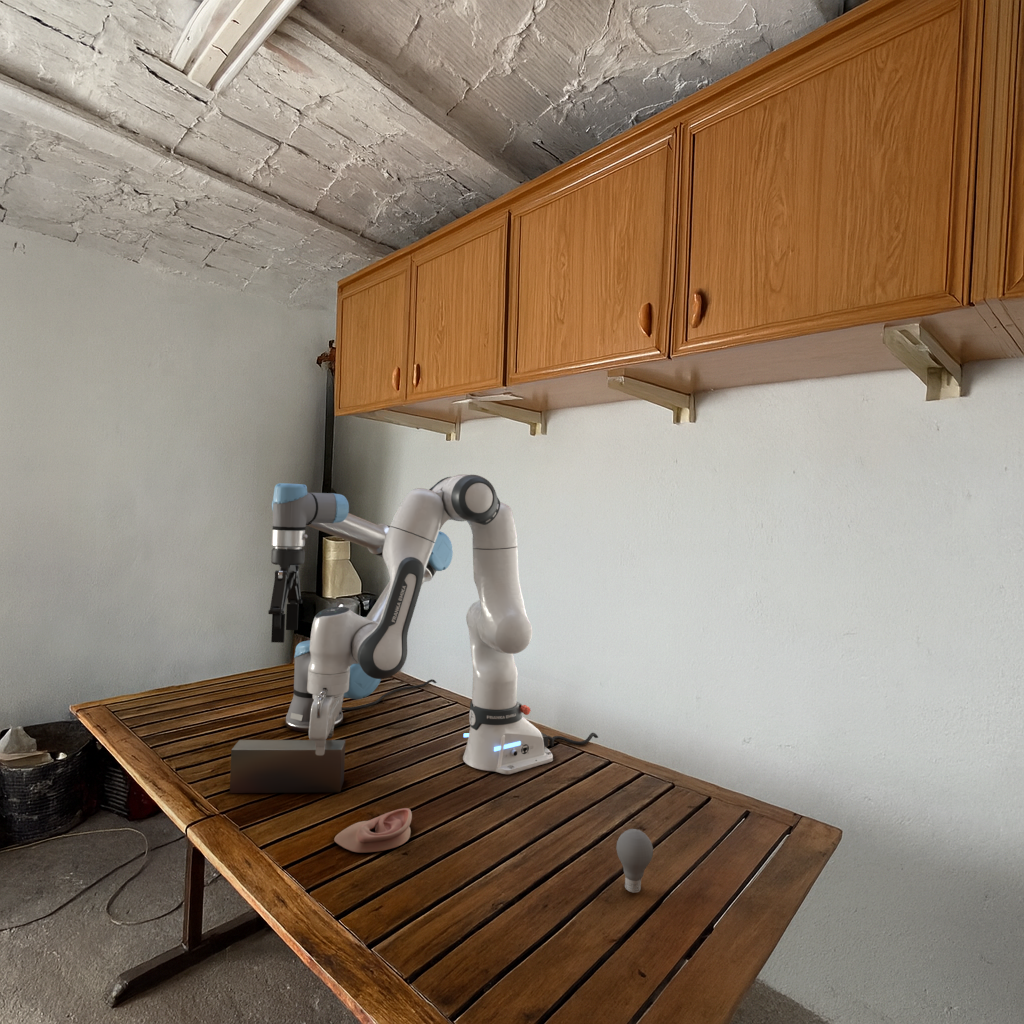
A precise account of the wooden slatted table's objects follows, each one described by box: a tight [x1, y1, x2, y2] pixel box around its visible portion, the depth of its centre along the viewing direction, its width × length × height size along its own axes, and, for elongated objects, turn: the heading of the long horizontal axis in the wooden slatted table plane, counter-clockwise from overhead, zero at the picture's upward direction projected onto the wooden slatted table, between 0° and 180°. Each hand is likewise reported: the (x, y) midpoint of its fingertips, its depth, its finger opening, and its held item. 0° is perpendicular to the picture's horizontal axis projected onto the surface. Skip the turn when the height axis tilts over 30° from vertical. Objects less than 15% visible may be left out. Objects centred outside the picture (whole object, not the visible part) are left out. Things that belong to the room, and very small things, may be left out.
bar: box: [229, 739, 346, 794], centre depth 137 cm, size 23×5×9 cm, turn 96°
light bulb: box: [615, 828, 654, 894], centre depth 106 cm, size 6×6×10 cm
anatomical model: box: [333, 807, 413, 854], centre depth 119 cm, size 13×4×12 cm
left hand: (285, 635), depth 152 cm, fingers open, 13 cm apart
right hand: (324, 745), depth 138 cm, fingers open, 8 cm apart
